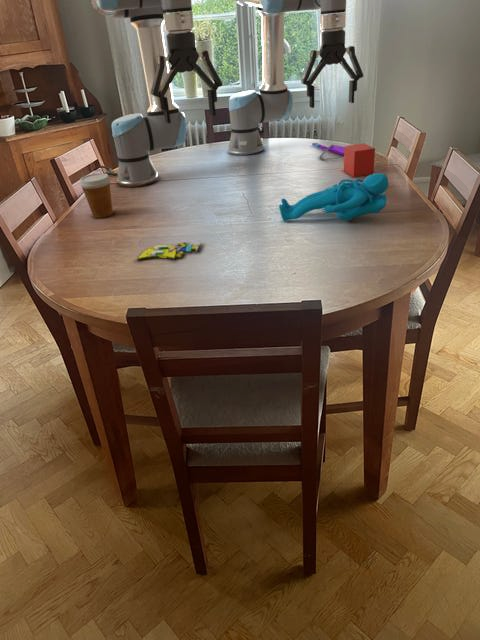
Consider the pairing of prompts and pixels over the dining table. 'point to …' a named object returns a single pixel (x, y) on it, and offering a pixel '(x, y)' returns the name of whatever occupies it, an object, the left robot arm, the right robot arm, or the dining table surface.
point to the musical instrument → (331, 149)
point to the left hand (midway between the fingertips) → (190, 118)
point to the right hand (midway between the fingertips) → (331, 105)
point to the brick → (359, 159)
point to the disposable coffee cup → (98, 194)
